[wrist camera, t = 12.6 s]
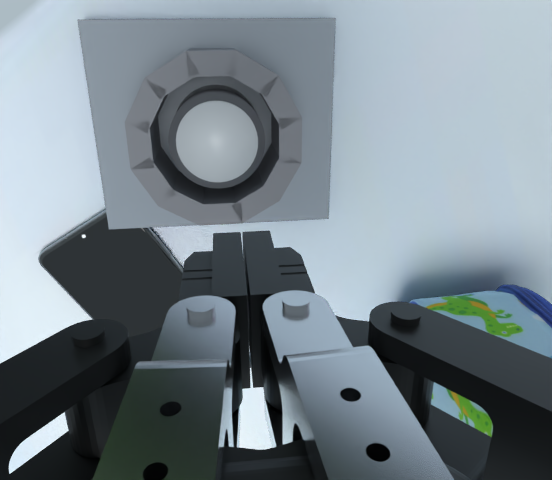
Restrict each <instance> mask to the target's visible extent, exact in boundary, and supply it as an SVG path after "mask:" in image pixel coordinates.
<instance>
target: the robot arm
mask: <svg viewBox="0 0 552 480" xmlns="http://www.w3.org/2000/svg"><path fill="white" fill-rule="evenodd" d="M249 348H250V358H251V369H252V379H253V388H255V387H264V401H265V418H266V422H267V426H268V431H269V435H270V440H271V444H272V448H270V449H266V450H255V449H246V448H239V434H240V404H241V402H242V389H244V388H250V364H249ZM434 382H435V383H437V384H439V385H441V386H442V387H444V388H446V389H448V390H450V391H452V392H454V393H456V394H458V395H460V396H462V397H464V398H466V399H468V400H470V401H472V402H474V403H476V404H477V405H479V406H480V407H482V408H483V409H484V410H485V411H486V413H487V414H488V415H489V417H490V419H491V421H492V425H493V432H492V437H490V436H488V435H486V434H485V433H483V432H481V431H479V430H477V429H475V428H474V427H472V426H470V425H468V424H466V423H464V422H463V421H461V420H459V419H457V418H455V417H453V416H452V415H450V414H448V413H446V412H444V411H442V410H441V409H439V408H437V407H435V406H433V405H431V399H432V392H433V385H434ZM64 412H65V416H66V420H67V425H68V430H69V431H68V432H66V433H65V434H64V435H62V436H61V437H60V438H58V439H57V440H56V441H54V442H53V443H51V444H50V445H49V446H47V447H46V448H45V449H43V450H42V451H41V452H39V453H38V454H37V455H35V456H34V457H32V458H31V459H30V460H28V461H27V462H26V463H24V464H23V465H22V466H20V467H19V468H18V469H16V470H15V471H13V472H12V473H11V474H9V469H8V468H9V461H10V458H11V456H12V454H13V452H14V451H15V449H16V448H17V447H18V446H19V444H20V443H21V442H22V441H24V440H25V439H26V438H28V437H29V436H30V435H32V434H33V433H35V432H36V431H38V430H39V429H41V428H42V427H43V426H45V425H46V424H48V423H49V422H51V421H52V420H53V419H55V418H56V417H58V416H59V415H61V414H62V413H64ZM0 480H552V358H549V357H547V356H545V355H542V354H540V353H537V352H535V351H532V350H530V349H527V348H525V347H522V346H520V345H517V344H515V343H512V342H510V341H507V340H505V339H502V338H500V337H497V336H495V335H492V334H490V333H488V332H485V331H483V330H480V329H478V328H475V327H473V326H470V325H468V324H465V323H463V322H460V321H458V320H455V319H453V318H450V317H448V316H445V315H443V314H440V313H438V312H435V311H433V310H430V309H428V308H426V307H423V306H420V305H417V304H413V303H407V302H389V303H384V304H381V305H379V306H377V307H375V308H374V309H373V310H372V311H371V313H370V318H369V322H367V321H359V320H351V319H346V318H342V317H338V316H336V315H335V314H334V312H333V311H332V309H331V307H330V305H329V303H328V302H327V301H326V300H325V299H324V298H323V297H321V296H319V295H317V294H315V292H314V289H313V286H312V284H311V281H310V278H309V276H308V274H307V270H306V268H305V266H304V262H303V259H302V257H301V255H300V254H299V253H297V252H296V251H295V250H293V249H292V248H290V247H286V248H274V246H273V242H272V238H271V234H270V231H255V232H243V252H242V242H241V233H240V232H234V233H213V251H206V252H194V253H193V254H192V255H190V256H189V257H188V258H187V259H186V260H185V262H184V269H183V275H182V282H181V288H180V295H179V301H178V302H177V303H176V304H174V305H173V306H172V307H171V308H170V309H169V310H168V312H167V315H166V318H165V321H164V324H163V326H162V327H160V328H158V329H156V330H153V331H150V332H147V333H143V334H139V335H135V336H131V337H129V336H128V330H127V328H126V327H125V326H124V325H123V324H122V323H120V322H118V321H114V320H109V319H95V320H88V321H83V322H80V323H77V324H74V325H71V326H69V327H67V328H65V329H63V330H61V331H60V332H58V333H56V334H54V335H52V336H50V337H49V338H47V339H45V340H43V341H41V342H39V343H38V344H36V345H34V346H32V347H30V348H28V349H27V350H25V351H23V352H21V353H19V354H17V355H15V356H14V357H12V358H10V359H8V360H6V361H4V362H3V363H1V364H0Z"/></svg>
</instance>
